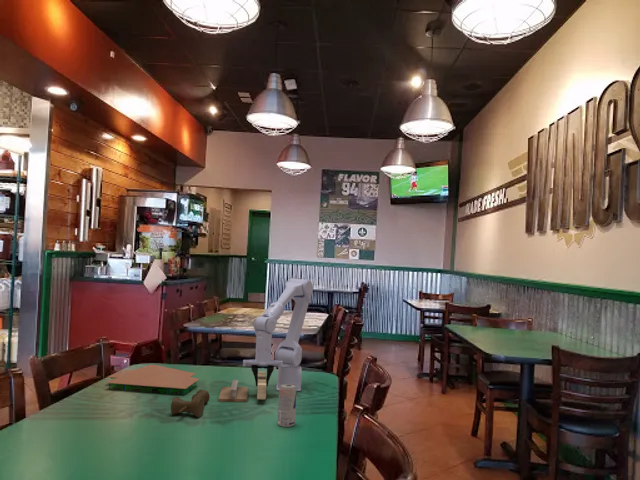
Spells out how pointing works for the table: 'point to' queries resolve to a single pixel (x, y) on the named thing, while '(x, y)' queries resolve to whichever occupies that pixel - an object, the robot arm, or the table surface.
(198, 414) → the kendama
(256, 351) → the robot arm
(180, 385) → the brown flat slab
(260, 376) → the maple bar
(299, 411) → the table surface
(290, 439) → the table surface
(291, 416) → the energy drink
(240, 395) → the ridge stand
